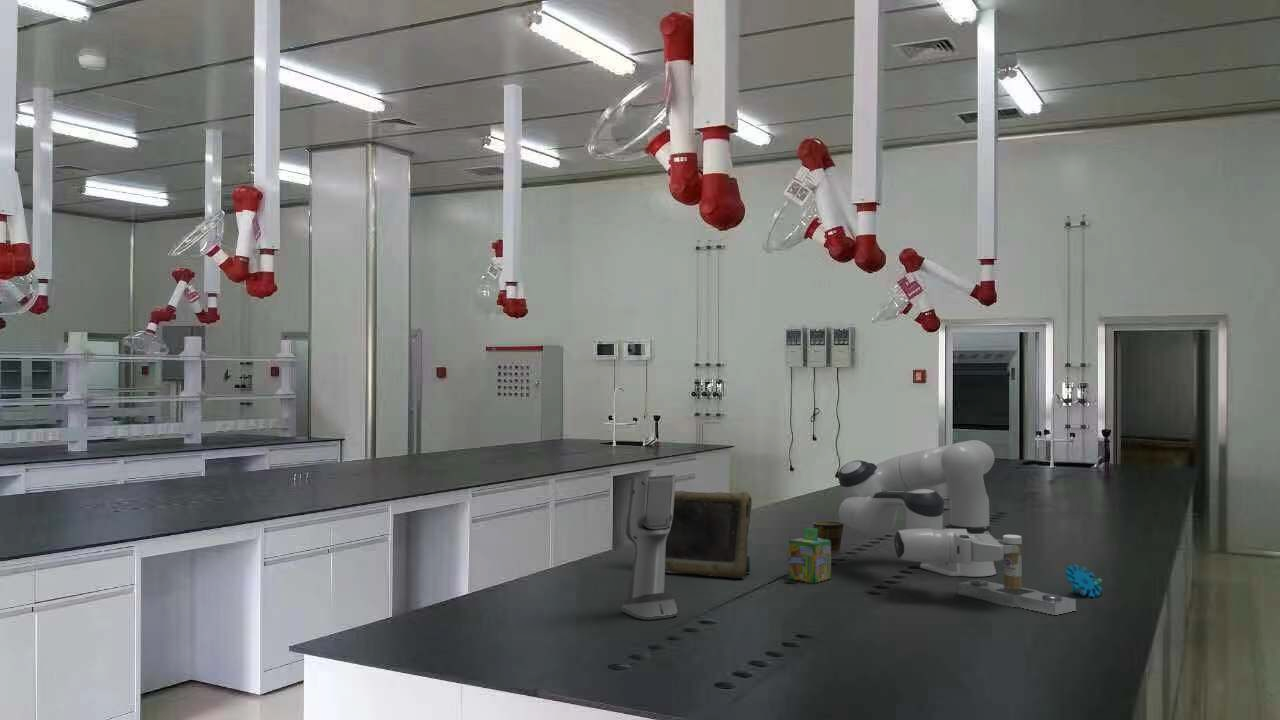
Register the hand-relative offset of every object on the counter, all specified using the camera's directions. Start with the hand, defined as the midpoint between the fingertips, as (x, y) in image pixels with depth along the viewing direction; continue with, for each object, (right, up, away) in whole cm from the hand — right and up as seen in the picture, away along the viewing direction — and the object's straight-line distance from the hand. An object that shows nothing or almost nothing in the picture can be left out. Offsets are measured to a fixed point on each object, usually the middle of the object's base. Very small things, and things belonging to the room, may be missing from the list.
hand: (1016, 546), depth 251 cm
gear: (+21, -15, +8) cm, 27 cm away
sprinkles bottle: (-1, -11, 0) cm, 11 cm away
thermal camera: (-94, -16, -6) cm, 96 cm away
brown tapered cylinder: (-34, -17, +74) cm, 83 cm away
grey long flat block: (0, -14, 0) cm, 14 cm away
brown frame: (-79, -17, +44) cm, 92 cm away
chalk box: (-47, -16, +32) cm, 59 cm away
